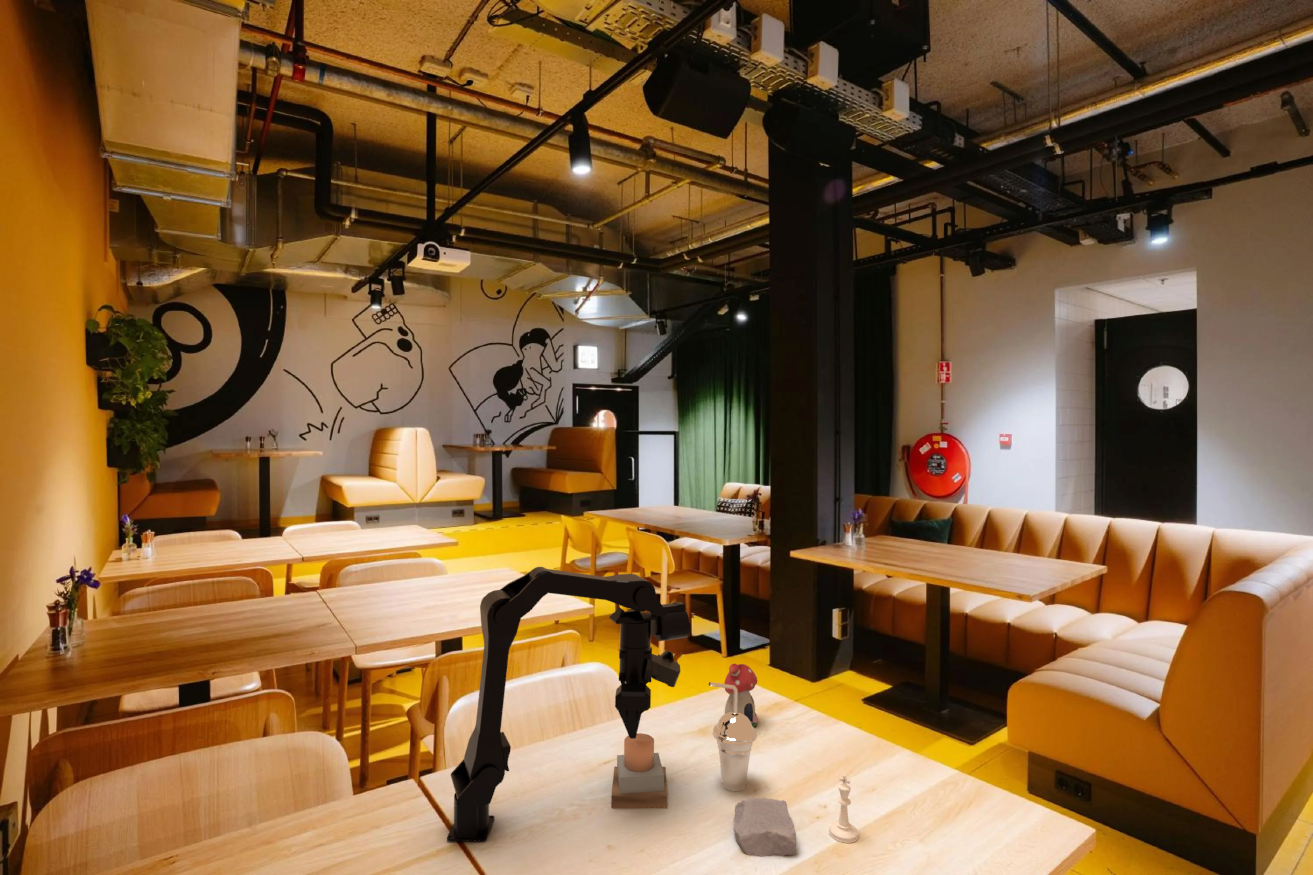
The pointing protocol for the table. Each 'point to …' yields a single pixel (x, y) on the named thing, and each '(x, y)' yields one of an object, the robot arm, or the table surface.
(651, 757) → the cylinder
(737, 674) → the decorative ornament
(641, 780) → the top slab
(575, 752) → the table surface
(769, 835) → the stone block
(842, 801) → the chess piece
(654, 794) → the base slab
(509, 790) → the table surface
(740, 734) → the cup with straw
